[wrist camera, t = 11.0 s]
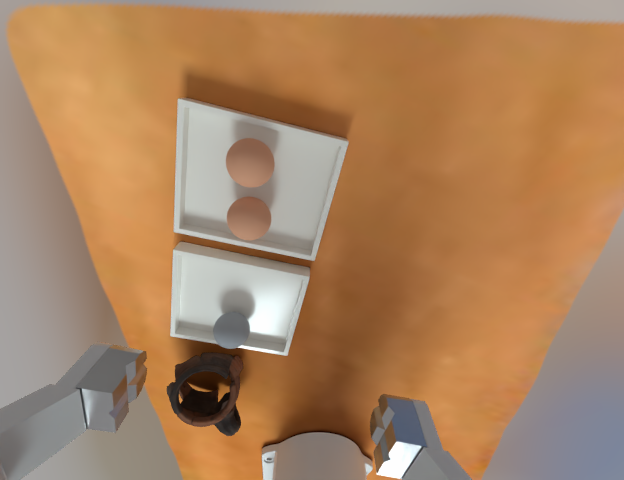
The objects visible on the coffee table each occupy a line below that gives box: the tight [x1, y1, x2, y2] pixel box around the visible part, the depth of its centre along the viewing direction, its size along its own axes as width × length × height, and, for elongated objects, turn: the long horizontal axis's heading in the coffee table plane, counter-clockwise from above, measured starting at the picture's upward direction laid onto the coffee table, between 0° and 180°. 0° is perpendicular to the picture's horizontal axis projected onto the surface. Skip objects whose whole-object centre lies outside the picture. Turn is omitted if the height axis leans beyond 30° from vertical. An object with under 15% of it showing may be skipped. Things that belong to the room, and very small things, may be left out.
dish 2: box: [170, 241, 310, 356], centre depth 34 cm, size 12×14×2 cm
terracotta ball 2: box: [227, 197, 271, 240], centre depth 27 cm, size 4×4×4 cm
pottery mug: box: [167, 352, 243, 436], centre depth 38 cm, size 12×10×8 cm
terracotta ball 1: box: [226, 138, 275, 187], centre depth 25 cm, size 4×4×4 cm
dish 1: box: [174, 98, 349, 261], centre depth 28 cm, size 12×14×2 cm
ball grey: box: [213, 312, 250, 349], centre depth 33 cm, size 4×4×4 cm
